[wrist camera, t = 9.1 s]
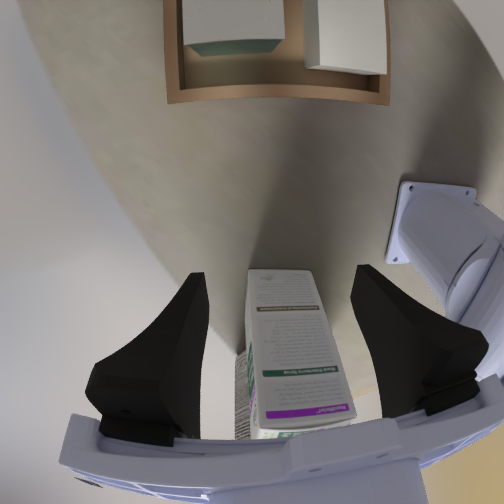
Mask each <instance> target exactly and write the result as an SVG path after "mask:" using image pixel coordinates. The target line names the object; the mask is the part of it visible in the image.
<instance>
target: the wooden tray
mask: <svg viewBox="0 0 504 504" xmlns="http://www.w3.org/2000/svg"><path fill="white" fill-rule="evenodd" d="M283 8H284V26H285V40H282V41H281V42H280V43H279V44H278V45H277V47H276V48H275V49H274V50H273V51H272V53H258V54H234V55H220V56H209V57H202V56H200V55H199V54H198V53H196V52H195V51H194V50H193V49H191V48H190V47H189V46H185V45H184V36H183V8H182V0H163V17H164V52H165V72H166V88H167V101H168V104H174V103H182V102H191V101H200V100H212V99H225V98H245V97H300V98H320V99H334V100H345V101H355V102H363V103H371V104H378V105H385V106H389V103H390V30H389V14H388V2H387V0H384V9H385V23H386V46H387V74H375V75H358V74H350V73H342V72H333V71H323V70H310V69H304V31H303V8H302V0H283Z"/></svg>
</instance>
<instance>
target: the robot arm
mask: <svg viewBox="0 0 504 504" xmlns="http://www.w3.org/2000/svg"><path fill="white" fill-rule="evenodd" d="M410 186H412V188H411V189H410V190H409V187H410ZM466 191H467V192H466ZM476 195H477V190H476V189H475V188H473V187H465V186H456V185H447V184H436V183H425V182H412V181H404V182H402V183H401V185H400V189H399V195H398V201H397V206H396V211H395V216H394V221H393V226H392V231H391V235H390V240H389V244H388V248H387V252H386V256H385V261H386V263H387V264H398V263H412V264H413V266H414V267H415V268H416V270H417V271H418V272H419V274H420V275H421V276H422V278H423V279H424V281H425V282H426V283H427V285H428V286H429V287H430V289H431V290H432V292H433V293H434V295H435V296H436V298H437V299H438V300H439V302H440V303H441V305H442V306H443V308H444V309H445V311H446V316H445V317H443V316H441V315H439V314H437V313H435V312H434V311H432V310H430V309H428V308H427V307H425V306H424V305H422V304H420V303H419V302H417V301H416V300H414V299H413V298H412V297H410V296H409V295H407V294H406V293H405V292H403V291H402V290H401V289H400V288H398V287H397V286H396V285H395V284H393V283H392V282H391V281H390V280H388V279H387V278H386V277H385V276H383V275H382V274H381V273H380V272H379V271H377V270H376V269H375V268H373V267H372V266H371V265H369V264H365V265H357V270H356V274H355V279H354V283H353V288H352V292H351V296H350V299H351V302H352V306H353V310H354V314H355V317H356V319H357V322H358V324H359V327H360V329H361V331H362V334H363V336H364V339H365V341H366V344H367V346H368V349H369V351H370V354H371V357H372V361H373V365H374V369H375V373H376V378H377V383H378V388H379V394H380V400H381V407H382V419H375V420H371V421H367V422H363V423H357V424H352V425H347V426H342V427H336V428H330V429H323V430H316V431H312V432H307V433H302V434H300V435H297V436H294V437H284V438H271V439H251V440H204V439H200V386H201V368H202V360H203V354H204V348H205V342H206V336H207V331H208V324H209V300H208V294H207V288H206V282H205V275H204V272H199V273H190V274H189V276H188V277H187V279H186V280H185V282H184V283H183V285H182V286H181V288H180V289H179V290H178V292H177V293H176V295H175V296H174V297H173V299H172V300H171V301H170V303H169V304H168V305H167V306H166V307H165V309H164V310H163V311H162V312H161V313H160V315H159V316H158V317H157V318H156V319H155V320H154V321H153V322H152V323H151V324H150V325H149V326H148V327H147V328H146V329H145V330H144V331H143V332H142V333H140V334H139V335H138V336H137V337H136V338H134V339H133V340H132V341H131V342H130V343H128V344H127V345H125V346H124V347H122V348H121V349H119V350H118V351H116V352H115V353H113V354H112V355H110V356H108V357H106V358H105V359H103V360H101V361H99V362H97V363H95V365H94V368H93V370H92V372H91V375H90V378H89V381H88V384H87V387H86V390H85V394H86V396H87V398H88V400H89V401H90V402H91V403H92V404H93V406H95V408H96V409H97V410H98V411H99V412H100V413H101V414H102V419H101V422H100V421H99V420H96V419H94V418H90V417H86V416H81V415H77V414H71V418H70V421H69V425H68V428H67V431H66V435H65V439H64V442H63V446H62V450H61V454H60V458H59V463H60V464H61V465H63V466H64V467H66V468H68V469H69V470H71V471H73V472H75V473H77V474H78V475H80V476H82V477H84V478H86V479H88V480H90V481H94V482H97V483H100V484H104V485H107V486H111V487H115V488H118V489H122V490H126V491H130V492H134V493H139V494H143V495H148V496H153V497H158V498H163V499H169V500H175V501H182V502H190V503H199V504H429V503H428V499H427V495H426V491H425V487H424V483H423V479H422V475H421V472H420V470H421V469H423V468H426V467H428V466H430V465H432V464H434V463H437V462H439V461H441V460H443V459H445V458H447V457H449V456H451V455H453V454H455V453H456V452H458V451H460V450H462V449H464V448H466V447H468V446H469V445H471V444H473V443H475V442H477V441H478V440H480V439H482V438H484V437H485V436H487V435H488V434H489V433H491V432H492V431H493V430H494V429H495V428H497V427H498V426H499V425H500V424H501V423H503V422H504V221H503V220H502V219H500V218H499V217H498V216H497V215H495V214H494V213H493V212H492V211H490V210H489V209H488V208H486V207H485V206H484V205H482V204H481V203H479V202H478V201H477V200H475V199H476ZM395 257H396V258H395ZM394 258H395V259H394ZM393 259H394V260H393Z"/></svg>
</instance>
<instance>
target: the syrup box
mask: <svg viewBox="0 0 504 504" xmlns="http://www.w3.org/2000/svg"><path fill="white" fill-rule="evenodd" d="M245 335H246V357H247V378H248V396H249V412H250V429H251V439H271V438H284V437H294V436H297V435H300V434H302V433H307V432H312V431H316V430H323V429H330V428H336V427H342V426H347V425H350V423H351V422H352V421H353V420H354V419H355V418H356V416H357V413H356V410H355V407H354V403H353V399H352V396H351V392H350V389H349V385H348V382H347V379H346V375H345V372H344V369H343V366H342V362H341V359H340V356H339V352H338V349H337V346H336V343H335V340H334V337H333V334H332V330H331V327H330V324H329V322H328V319H327V316H326V313H325V310H324V307H323V304H322V301H321V298H320V295H319V292H318V289H317V287H316V284H315V281H314V278H313V275H312V273H311V271H307V270H275V269H249V270H248V276H247V285H246V297H245Z"/></svg>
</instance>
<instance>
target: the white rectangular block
mask: <svg viewBox="0 0 504 504" xmlns="http://www.w3.org/2000/svg"><path fill="white" fill-rule="evenodd" d="M302 8H303V31H304V69H310V70H323V71H333V72H342V73H350V74H358V75H375V74H387V46H386V23H385V9H384V0H302Z"/></svg>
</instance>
